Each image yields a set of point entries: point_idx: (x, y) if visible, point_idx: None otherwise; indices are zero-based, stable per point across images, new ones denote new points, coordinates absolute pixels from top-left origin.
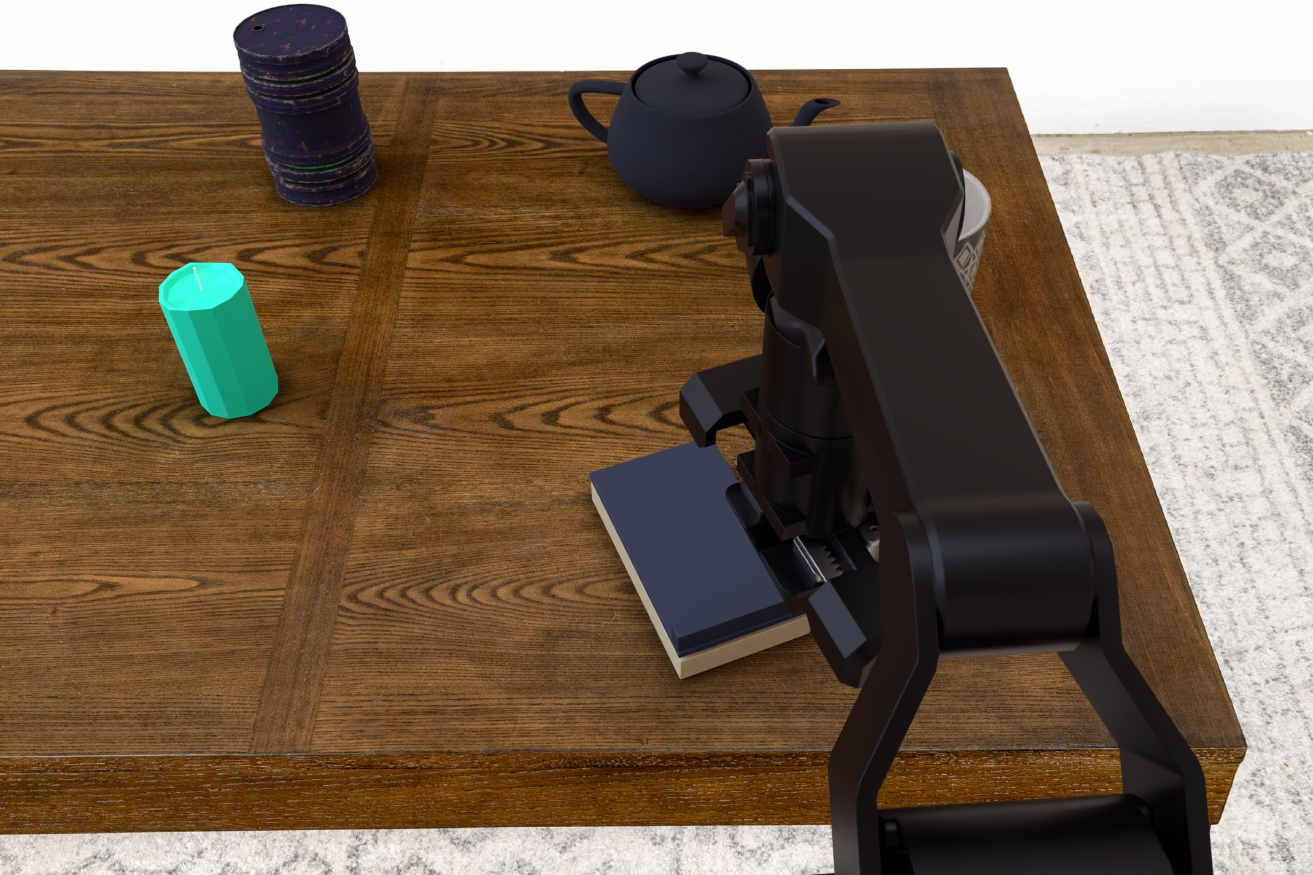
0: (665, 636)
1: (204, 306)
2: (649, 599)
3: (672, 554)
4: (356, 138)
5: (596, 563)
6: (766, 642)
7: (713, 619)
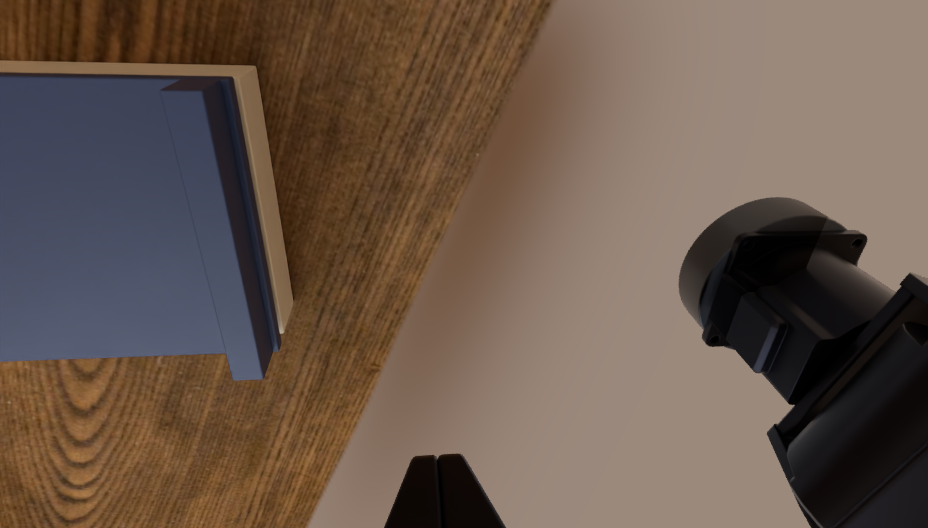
0: None
1: None
2: None
3: (31, 297)
4: None
5: None
6: (267, 169)
7: (236, 318)
